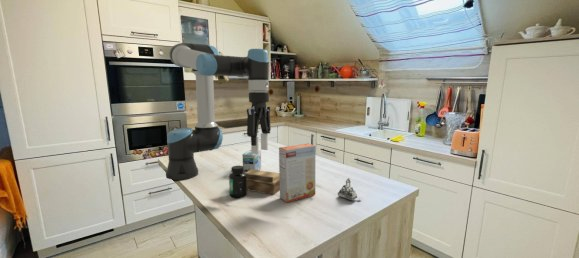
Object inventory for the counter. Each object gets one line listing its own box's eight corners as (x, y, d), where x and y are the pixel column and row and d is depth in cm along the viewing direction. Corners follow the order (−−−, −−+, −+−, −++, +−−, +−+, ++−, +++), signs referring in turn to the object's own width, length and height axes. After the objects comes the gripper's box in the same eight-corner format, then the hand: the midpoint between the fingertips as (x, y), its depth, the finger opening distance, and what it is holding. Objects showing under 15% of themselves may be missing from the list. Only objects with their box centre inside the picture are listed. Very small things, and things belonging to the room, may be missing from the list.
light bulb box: (255, 175, 134) (254, 154, 133) (242, 175, 136) (241, 154, 134) (261, 169, 145) (261, 150, 143) (249, 168, 146) (249, 149, 144)
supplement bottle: (230, 199, 106) (229, 170, 104) (229, 193, 112) (228, 165, 110) (247, 197, 108) (247, 168, 106) (245, 191, 114) (245, 164, 112)
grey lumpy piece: (367, 195, 110) (368, 178, 109) (355, 202, 104) (356, 183, 103) (349, 189, 117) (349, 172, 115) (336, 195, 111) (337, 177, 110)
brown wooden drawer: (237, 188, 118) (237, 179, 117) (252, 179, 129) (251, 171, 128) (274, 194, 111) (274, 185, 110) (286, 185, 121) (286, 176, 121)
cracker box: (307, 190, 115) (307, 142, 112) (315, 195, 110) (316, 145, 107) (278, 197, 107) (278, 146, 104) (286, 203, 102) (286, 149, 99)
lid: (237, 178, 117) (237, 172, 117) (251, 170, 128) (251, 165, 127) (274, 184, 110) (274, 178, 109) (286, 175, 121) (286, 169, 120)
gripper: (253, 92, 91) (255, 158, 94) (279, 91, 108) (279, 147, 112) (235, 92, 94) (237, 156, 97) (262, 91, 111) (263, 145, 115)
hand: (259, 151), depth 105 cm, fingers open, 6 cm apart
